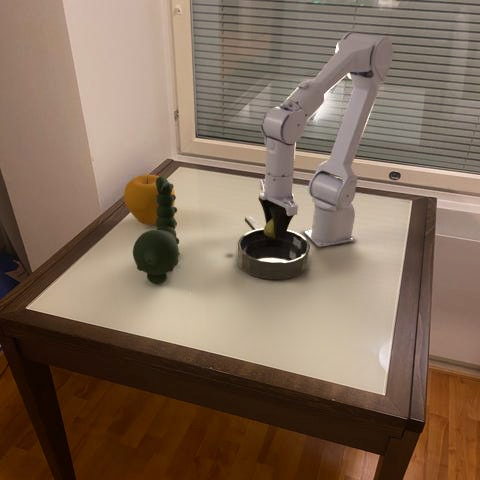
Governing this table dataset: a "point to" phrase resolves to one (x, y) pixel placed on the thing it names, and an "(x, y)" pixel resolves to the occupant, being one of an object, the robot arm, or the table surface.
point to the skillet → (273, 254)
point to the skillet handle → (253, 224)
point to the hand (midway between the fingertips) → (275, 232)
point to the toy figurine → (159, 238)
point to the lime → (269, 229)
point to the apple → (143, 198)
